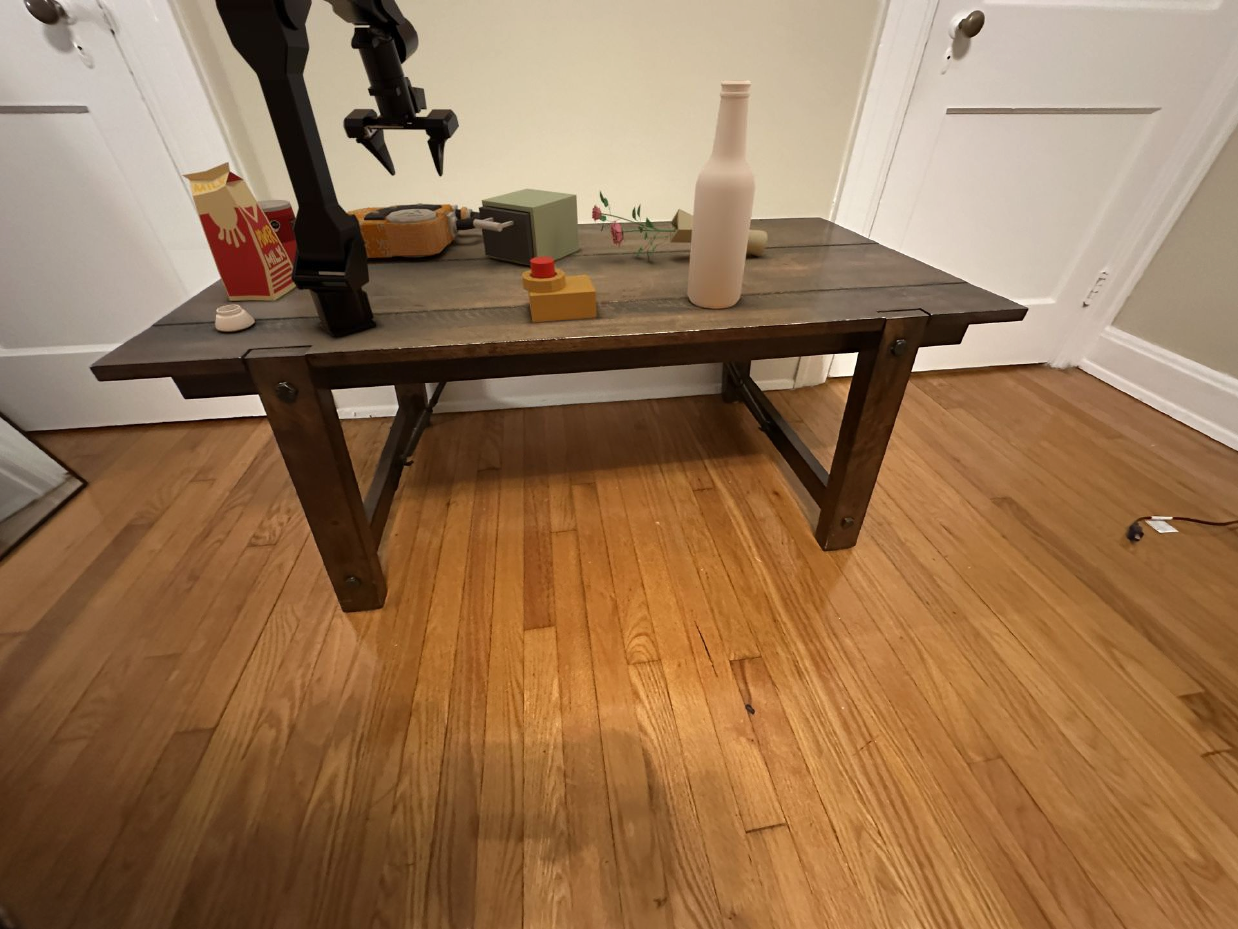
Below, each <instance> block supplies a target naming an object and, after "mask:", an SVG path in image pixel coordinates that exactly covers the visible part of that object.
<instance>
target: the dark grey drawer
mask: <svg viewBox="0 0 1238 929" xmlns="http://www.w3.org/2000/svg"><path fill="white" fill-rule="evenodd" d="M478 212H479V214H480V220H478V219H475V220H474V222H473V225H474V227H476V228H475V229H477V228H478V229H481V233H482V239H483V247H484V253H485V256H487V257H490V256H492V257H497V258H502V259H507V260H512V261H517V262H522V263H527V264H531V263H530V260H531V259H533V258H534V250H533V240H532V230H531V219H530V212H525V211H518V210H512V209H505V208H498V207H491V208H490V207H483V206H479V207H478Z"/></svg>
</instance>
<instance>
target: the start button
mask: <svg viewBox="0 0 1238 929" xmlns="http://www.w3.org/2000/svg"><path fill="white" fill-rule="evenodd" d="M530 263H531V266H530V270H531V273H532V277H533V278H538V279H545V278H551V277H554V276H555V261H554V259H553V258H551V257H536V258H533V259H531V260H530Z"/></svg>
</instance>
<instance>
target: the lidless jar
mask: <svg viewBox="0 0 1238 929" xmlns="http://www.w3.org/2000/svg"><path fill="white" fill-rule="evenodd" d="M215 311H216V315H215V321H214V327H215V328H216V330H217V331H221V332H227V333H229V332H238V331H243V330H246V329H248V328H249V327H251V326H252V325H253V324H254V323H255V319H254V317H253V316H252V315H251V314H250V313H249V312H247V310H246V309H243V308H242V306H240V305H239V304H228V305H223V306H219V307H218V308H217V309H216V310H215Z"/></svg>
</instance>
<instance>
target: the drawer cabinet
mask: <svg viewBox="0 0 1238 929" xmlns="http://www.w3.org/2000/svg"><path fill="white" fill-rule="evenodd" d="M577 197H578V196H577V194H574V193H565V192H558V191H550V190H541V189H534V188H524V189H521V190H516V191H512V192H508V193H505V194H501V195H497V196H493V197H488V198H483V199H481V205H482V206H483V207H490V208H491V207H498V208H505V209H512V210H518V211H525V212H530V219H531V230H532V240H533V250H534V258H536V257H551V258H553V259H554V262H555V261H557V260H560V259H562V258H564V257H566V256H569V255H572V254H574V253H576V252H579V251H580V241H579V223H578V222H579V221H578V220H579V219H578V200H577ZM482 206H481V207H482ZM489 258H491V259H496V260H501V261H506V262H511V263H515V264H520V265H526V266H530V267H531V264H527V263H522V262H517V261H512V260H507V259H502V258H497V257H492V256H489Z"/></svg>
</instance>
